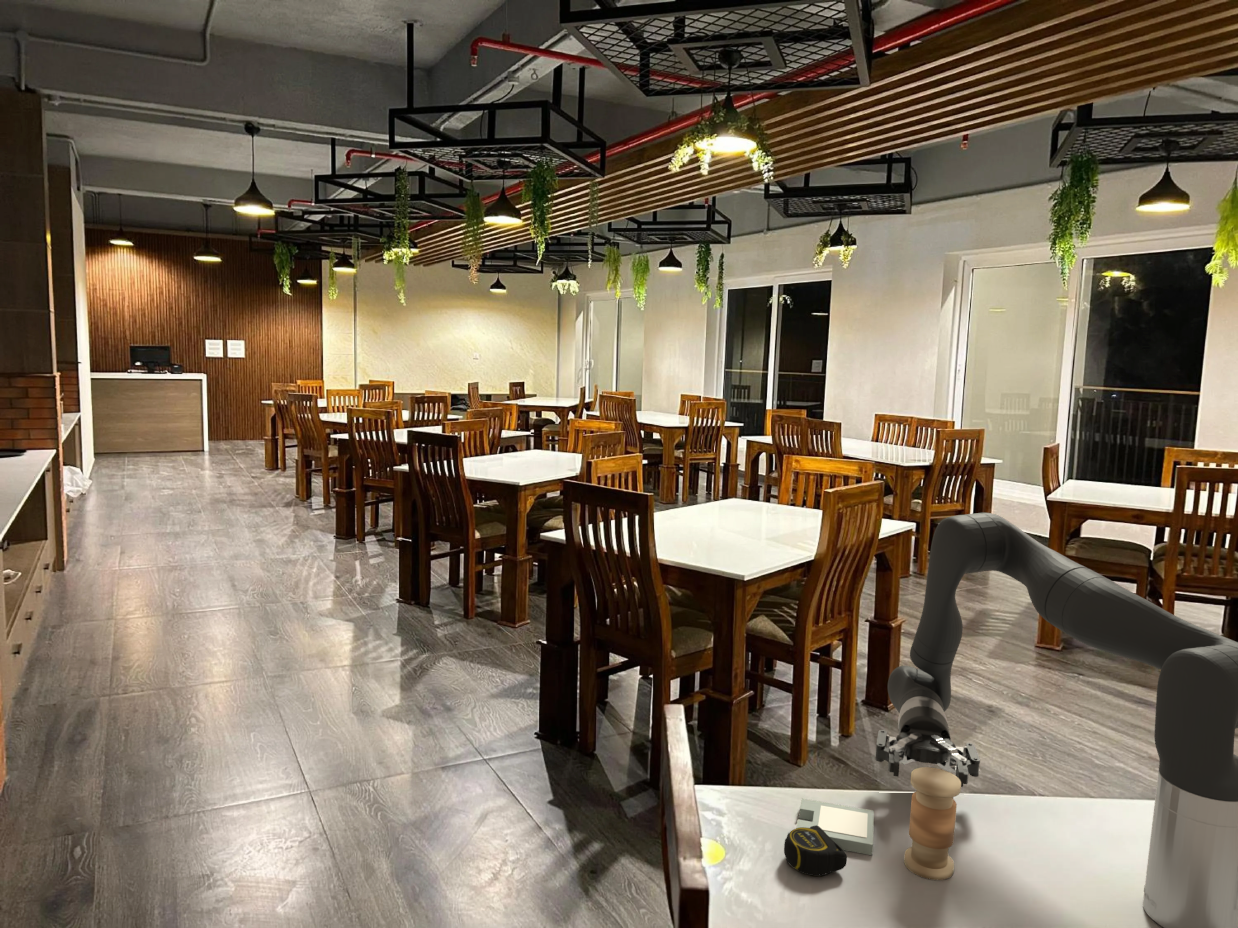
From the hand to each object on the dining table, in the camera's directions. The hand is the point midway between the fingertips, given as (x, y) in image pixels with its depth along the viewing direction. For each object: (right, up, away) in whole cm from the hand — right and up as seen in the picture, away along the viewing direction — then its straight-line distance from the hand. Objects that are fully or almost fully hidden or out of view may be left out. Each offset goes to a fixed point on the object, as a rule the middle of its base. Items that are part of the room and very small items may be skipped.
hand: (928, 775), depth 122 cm
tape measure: (-18, -8, -9) cm, 22 cm away
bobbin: (-3, -8, -9) cm, 13 cm away
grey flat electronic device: (-14, -7, -2) cm, 15 cm away
